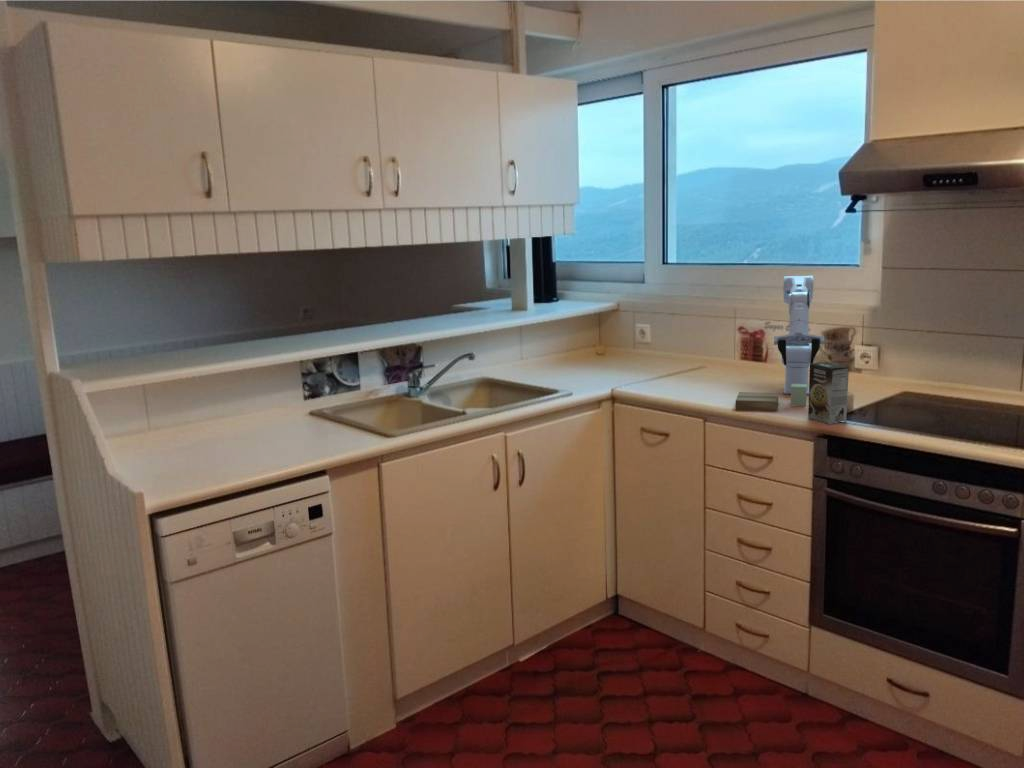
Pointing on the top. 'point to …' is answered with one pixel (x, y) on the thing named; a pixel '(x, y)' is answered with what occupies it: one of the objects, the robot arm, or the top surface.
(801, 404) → the sage block
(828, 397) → the coffee box
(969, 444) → the top surface
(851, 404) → the tan round piece
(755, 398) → the walnut base
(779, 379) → the top surface
